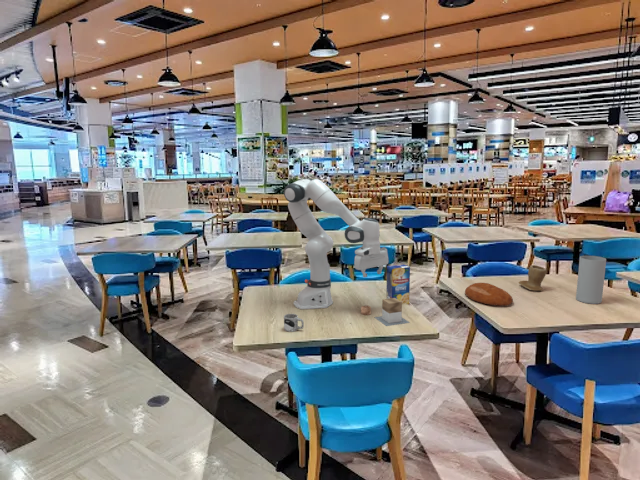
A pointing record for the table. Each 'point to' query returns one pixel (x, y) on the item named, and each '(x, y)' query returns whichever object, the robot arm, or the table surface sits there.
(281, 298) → the table surface
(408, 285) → the beverage box
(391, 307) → the tan wooden block
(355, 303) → the table surface
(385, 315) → the grey tower block
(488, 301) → the bread
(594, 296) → the cylinder vase
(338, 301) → the table surface
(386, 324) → the blue-grey board
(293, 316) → the mug
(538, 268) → the brown boot
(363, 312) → the brown rounded knob
